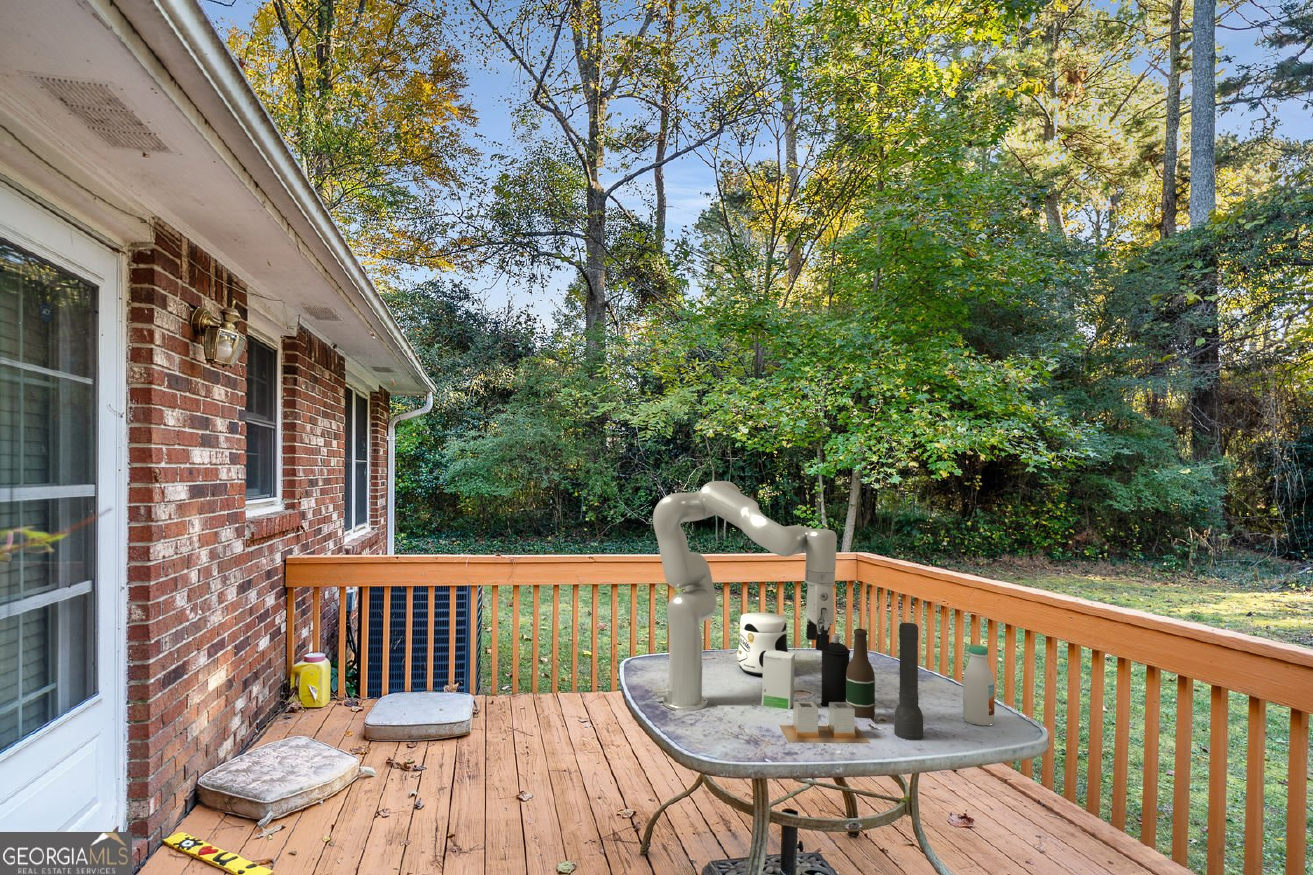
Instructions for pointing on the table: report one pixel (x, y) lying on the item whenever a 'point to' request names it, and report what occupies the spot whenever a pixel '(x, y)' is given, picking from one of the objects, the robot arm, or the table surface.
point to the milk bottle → (978, 688)
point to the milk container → (760, 639)
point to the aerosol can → (834, 672)
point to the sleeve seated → (805, 720)
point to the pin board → (822, 736)
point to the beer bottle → (861, 679)
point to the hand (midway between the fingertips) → (817, 644)
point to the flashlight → (908, 686)
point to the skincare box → (778, 679)
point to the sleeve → (841, 720)
